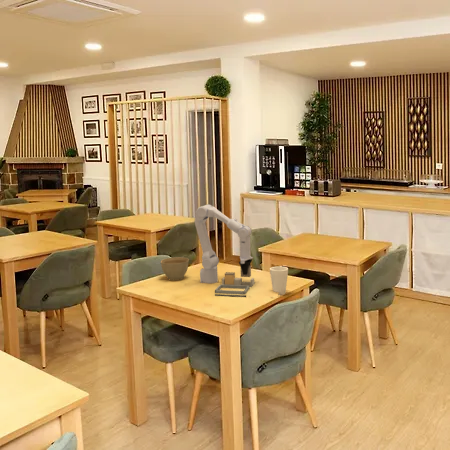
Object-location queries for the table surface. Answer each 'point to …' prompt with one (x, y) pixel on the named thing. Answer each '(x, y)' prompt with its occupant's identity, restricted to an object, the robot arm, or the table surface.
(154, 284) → the table surface
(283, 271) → the foam cup
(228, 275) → the fuse
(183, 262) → the planter bowl
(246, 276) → the block
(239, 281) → the block
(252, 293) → the table surface
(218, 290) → the parts tray
